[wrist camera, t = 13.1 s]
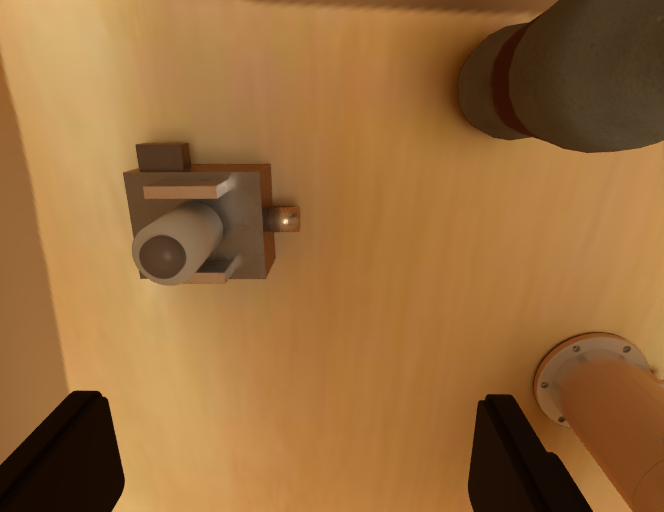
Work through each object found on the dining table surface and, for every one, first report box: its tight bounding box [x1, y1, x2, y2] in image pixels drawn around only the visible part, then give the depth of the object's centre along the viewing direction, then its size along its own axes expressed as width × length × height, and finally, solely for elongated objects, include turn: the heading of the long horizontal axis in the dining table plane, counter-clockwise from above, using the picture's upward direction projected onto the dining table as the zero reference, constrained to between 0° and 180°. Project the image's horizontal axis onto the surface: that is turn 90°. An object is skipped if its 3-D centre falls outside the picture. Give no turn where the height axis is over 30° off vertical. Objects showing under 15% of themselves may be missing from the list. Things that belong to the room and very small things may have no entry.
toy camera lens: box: [132, 202, 223, 286], centre depth 35 cm, size 5×5×8 cm
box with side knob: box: [123, 143, 300, 284], centre depth 39 cm, size 15×12×9 cm
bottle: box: [457, 0, 664, 153], centre depth 25 cm, size 9×9×30 cm
